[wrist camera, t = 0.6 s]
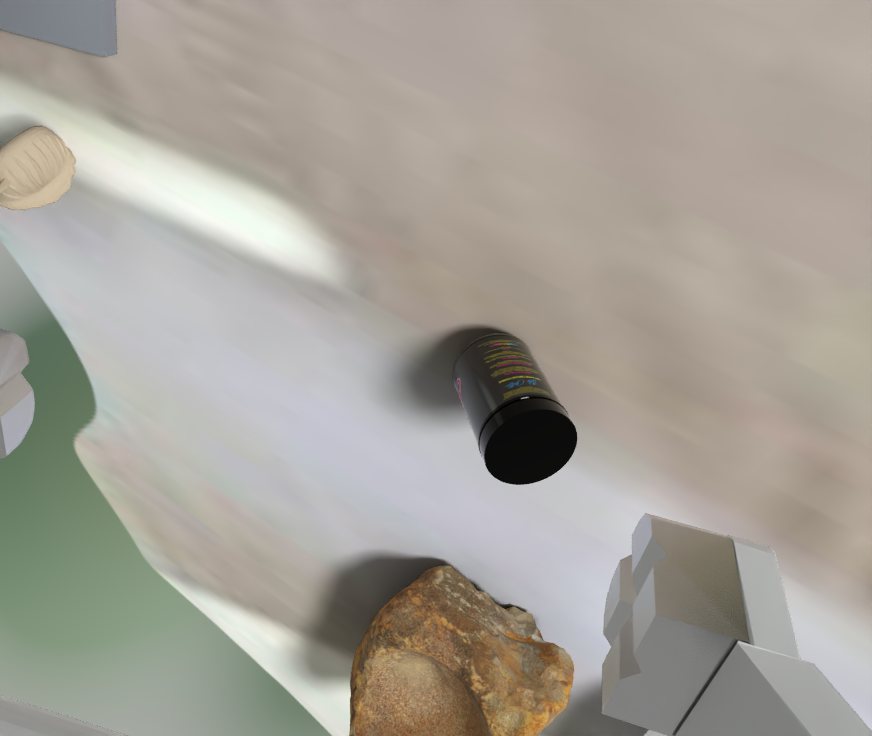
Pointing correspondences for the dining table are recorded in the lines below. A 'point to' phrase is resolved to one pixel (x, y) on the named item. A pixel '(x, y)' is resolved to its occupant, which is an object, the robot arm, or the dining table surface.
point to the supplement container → (512, 410)
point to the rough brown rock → (455, 666)
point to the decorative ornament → (34, 169)
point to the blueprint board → (64, 23)
